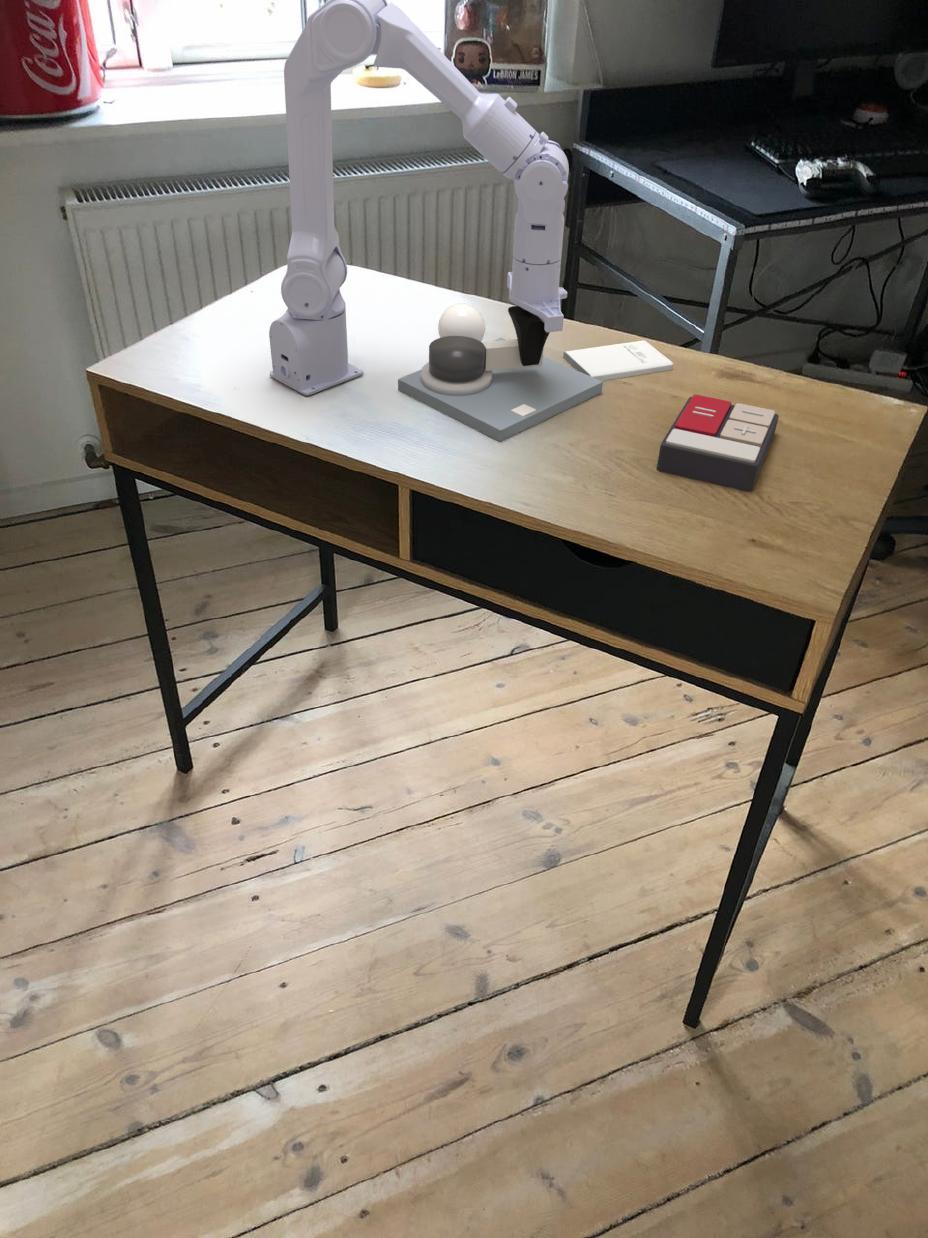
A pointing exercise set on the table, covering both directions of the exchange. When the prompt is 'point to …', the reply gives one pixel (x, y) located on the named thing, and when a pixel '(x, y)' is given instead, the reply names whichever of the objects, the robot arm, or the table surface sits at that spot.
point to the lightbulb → (462, 322)
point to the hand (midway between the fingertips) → (529, 363)
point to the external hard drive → (618, 360)
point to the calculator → (718, 442)
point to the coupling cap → (472, 357)
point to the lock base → (504, 396)
